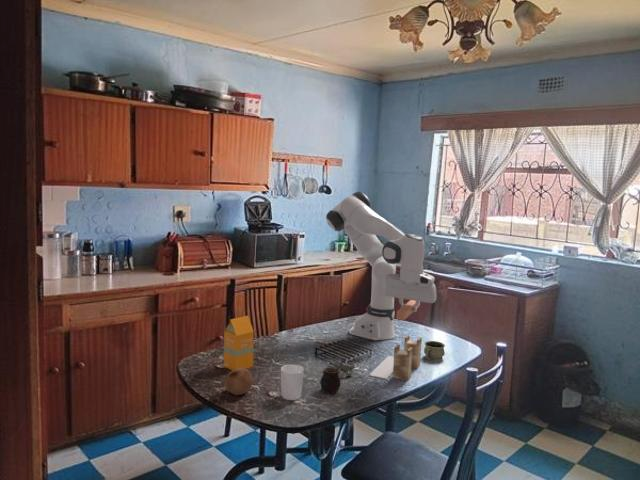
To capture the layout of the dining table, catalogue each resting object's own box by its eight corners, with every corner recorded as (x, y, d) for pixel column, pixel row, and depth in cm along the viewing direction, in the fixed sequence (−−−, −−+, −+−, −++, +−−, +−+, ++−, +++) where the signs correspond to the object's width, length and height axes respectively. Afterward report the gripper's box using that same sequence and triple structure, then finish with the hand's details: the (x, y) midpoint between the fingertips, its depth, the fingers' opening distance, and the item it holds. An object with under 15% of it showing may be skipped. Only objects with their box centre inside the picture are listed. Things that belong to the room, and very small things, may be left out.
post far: (403, 365, 210) (404, 337, 208) (405, 362, 214) (407, 335, 212) (417, 368, 208) (419, 340, 206) (419, 365, 211) (421, 337, 210)
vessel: (432, 352, 228) (433, 338, 227) (449, 357, 222) (451, 343, 221) (417, 358, 219) (418, 344, 218) (435, 364, 213) (436, 350, 212)
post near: (392, 377, 198) (394, 347, 196) (395, 374, 201) (397, 344, 200) (407, 380, 195) (409, 350, 193) (410, 377, 199) (412, 347, 197)
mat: (369, 375, 198) (369, 374, 198) (388, 356, 220) (388, 355, 220) (386, 379, 196) (386, 378, 195) (404, 359, 217) (404, 358, 217)
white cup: (279, 391, 182) (280, 364, 180) (302, 391, 182) (303, 364, 181) (280, 401, 174) (280, 373, 173) (303, 401, 175) (304, 373, 173)
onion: (233, 405, 176) (224, 385, 171) (227, 387, 184) (219, 368, 179) (259, 393, 178) (251, 373, 173) (252, 376, 186) (244, 356, 181)
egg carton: (356, 376, 198) (356, 366, 197) (339, 380, 194) (340, 369, 194) (341, 366, 207) (341, 357, 206) (325, 370, 203) (325, 360, 203)
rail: (396, 318, 191) (396, 311, 191) (412, 304, 213) (413, 297, 213) (404, 320, 190) (404, 312, 190) (419, 305, 212) (420, 298, 211)
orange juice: (223, 366, 202) (224, 317, 200) (241, 360, 209) (242, 313, 206) (235, 372, 197) (236, 321, 194) (253, 366, 203) (254, 317, 201)
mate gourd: (316, 388, 185) (318, 361, 184) (335, 385, 188) (336, 359, 187) (324, 396, 179) (326, 368, 178) (344, 393, 182) (345, 366, 181)
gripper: (383, 273, 201) (381, 308, 203) (435, 280, 193) (432, 316, 195) (388, 271, 207) (386, 304, 209) (438, 277, 198) (436, 312, 200)
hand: (408, 310), depth 202 cm, fingers closed on rail, 3 cm apart
